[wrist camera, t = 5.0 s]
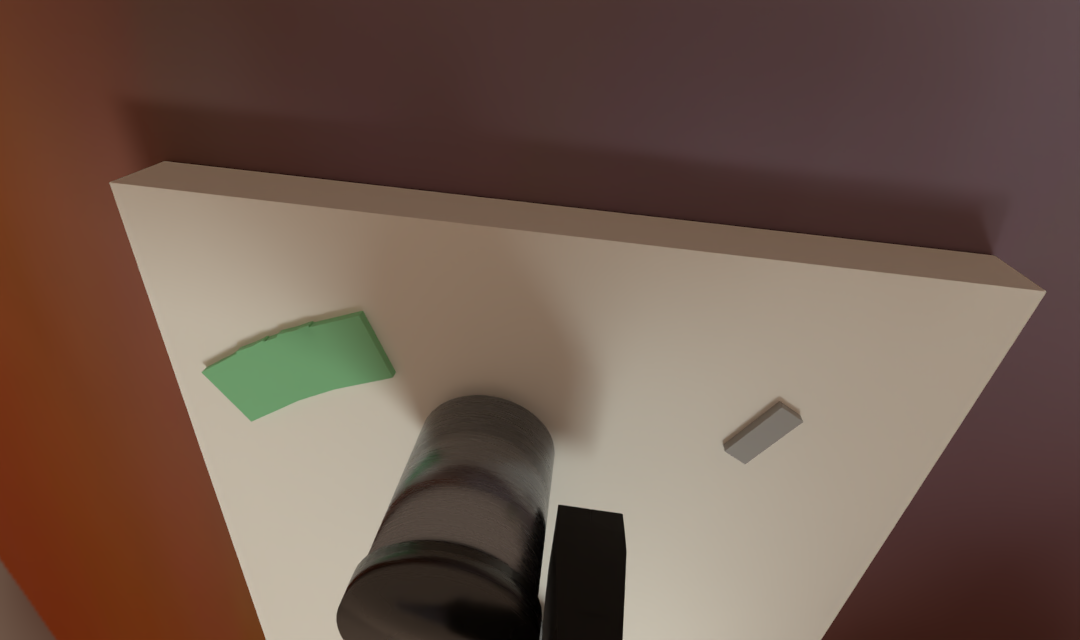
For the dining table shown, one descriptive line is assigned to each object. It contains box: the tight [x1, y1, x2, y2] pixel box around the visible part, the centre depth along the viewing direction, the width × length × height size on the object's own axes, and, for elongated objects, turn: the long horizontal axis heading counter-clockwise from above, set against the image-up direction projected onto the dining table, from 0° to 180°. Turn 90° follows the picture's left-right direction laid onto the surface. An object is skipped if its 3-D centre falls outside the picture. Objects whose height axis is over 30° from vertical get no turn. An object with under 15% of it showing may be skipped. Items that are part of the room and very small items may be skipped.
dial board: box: [109, 161, 1047, 640], centre depth 15 cm, size 17×18×2 cm
